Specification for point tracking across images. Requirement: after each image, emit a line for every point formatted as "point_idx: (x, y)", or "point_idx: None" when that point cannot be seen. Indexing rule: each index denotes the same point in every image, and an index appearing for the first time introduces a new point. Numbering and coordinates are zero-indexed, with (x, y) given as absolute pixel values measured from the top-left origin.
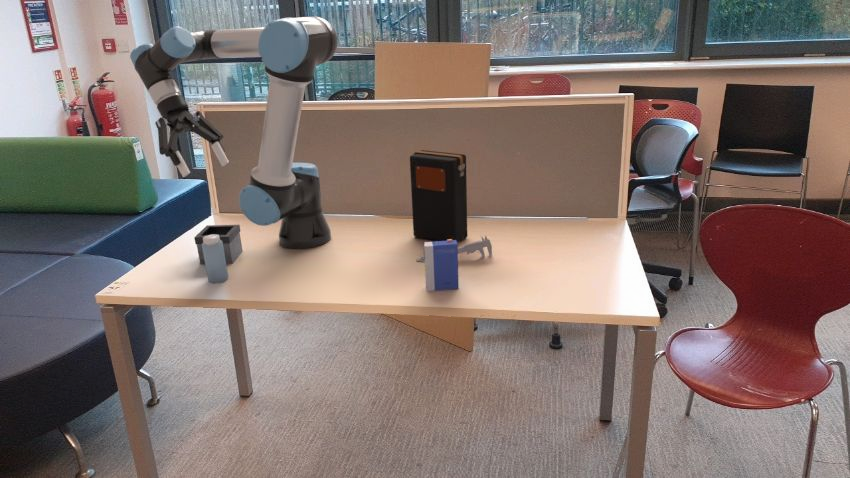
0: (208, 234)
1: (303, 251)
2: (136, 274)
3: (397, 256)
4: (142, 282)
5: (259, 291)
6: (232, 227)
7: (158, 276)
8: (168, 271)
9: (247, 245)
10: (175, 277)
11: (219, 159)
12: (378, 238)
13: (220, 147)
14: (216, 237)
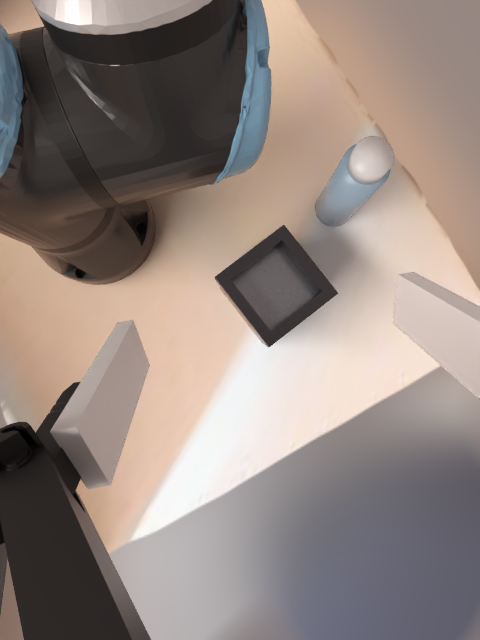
0: (279, 323)
1: None
2: (419, 365)
3: None
4: None
5: (319, 103)
6: (233, 283)
7: None
8: (372, 324)
9: (194, 309)
10: (379, 285)
11: (137, 384)
12: None
13: (86, 385)
14: (366, 142)
